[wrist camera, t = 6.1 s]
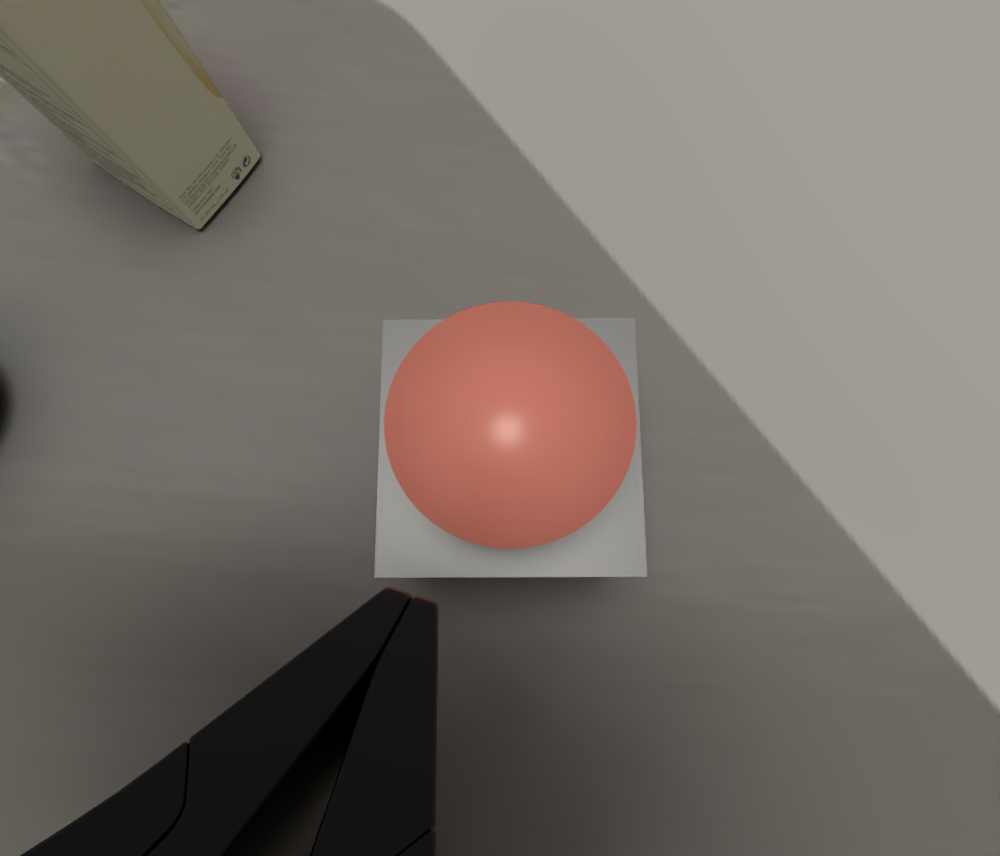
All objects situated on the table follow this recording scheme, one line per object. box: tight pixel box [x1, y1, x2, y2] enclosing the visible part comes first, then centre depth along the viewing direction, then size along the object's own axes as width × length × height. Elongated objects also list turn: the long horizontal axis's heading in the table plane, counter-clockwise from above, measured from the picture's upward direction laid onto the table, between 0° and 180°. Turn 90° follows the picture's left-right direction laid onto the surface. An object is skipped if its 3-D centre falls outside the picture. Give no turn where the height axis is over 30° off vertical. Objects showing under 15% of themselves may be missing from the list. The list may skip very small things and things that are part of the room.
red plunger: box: [384, 301, 637, 549], centre depth 18 cm, size 6×6×8 cm
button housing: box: [374, 318, 647, 578], centre depth 20 cm, size 7×7×7 cm
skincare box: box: [0, 0, 260, 230], centre depth 20 cm, size 6×4×12 cm
